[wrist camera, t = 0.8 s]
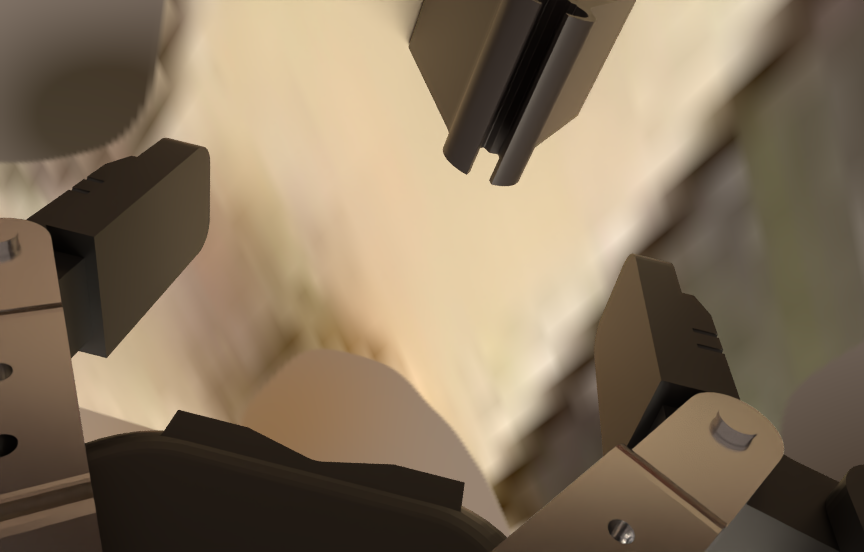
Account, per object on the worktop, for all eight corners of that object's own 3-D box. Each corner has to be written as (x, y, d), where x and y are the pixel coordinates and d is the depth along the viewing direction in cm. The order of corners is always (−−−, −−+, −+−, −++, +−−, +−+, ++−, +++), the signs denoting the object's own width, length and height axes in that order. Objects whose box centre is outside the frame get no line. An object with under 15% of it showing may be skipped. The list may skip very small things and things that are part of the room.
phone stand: (637, -6, 30) (691, 67, 20) (576, 113, 33) (596, 227, 23) (453, -86, 29) (414, -52, 19) (408, 44, 33) (355, 131, 23)
